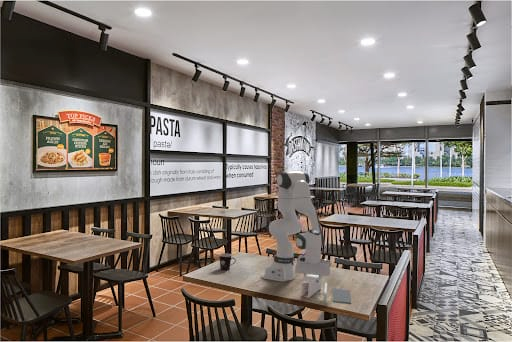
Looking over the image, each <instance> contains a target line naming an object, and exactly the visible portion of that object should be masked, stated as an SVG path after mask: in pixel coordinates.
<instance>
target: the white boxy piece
mask: <svg viewBox="0 0 512 342" xmlns="http://www.w3.org/2000/svg"><path fill="white" fill-rule="evenodd" d="M318 278H319V275H312V274H307V275H306V277H304V276H303V278H301V279H300V280H301V281H303V282H305V283H302V284H301V294H300V295H299V296H300V297H302V298H303V297H304V298H307V299H310V298H311V297H312V296H314V295H315V294H316V293H317V292H318V291H320V290H322V285H323V284H322V282H323V276H321V278H320V280H319V283H317V279H318Z"/></svg>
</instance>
